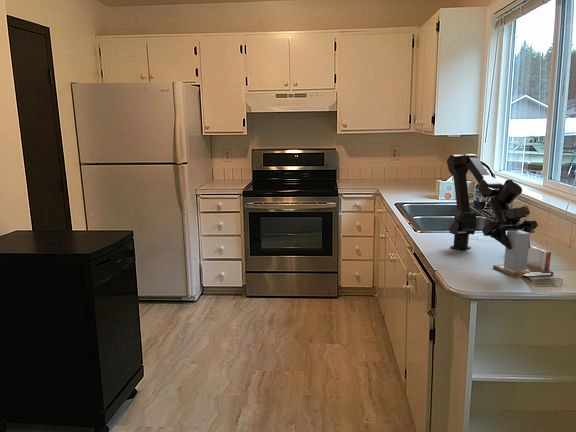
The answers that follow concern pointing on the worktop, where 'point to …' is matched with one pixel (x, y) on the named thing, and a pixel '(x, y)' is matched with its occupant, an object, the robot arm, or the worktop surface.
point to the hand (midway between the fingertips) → (519, 248)
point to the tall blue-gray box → (517, 250)
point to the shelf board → (530, 263)
